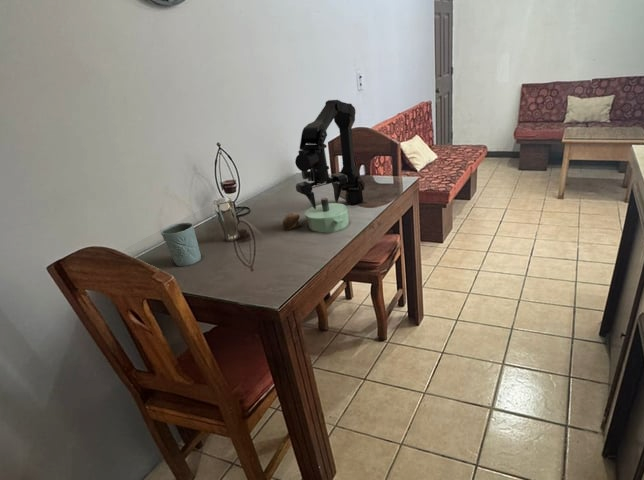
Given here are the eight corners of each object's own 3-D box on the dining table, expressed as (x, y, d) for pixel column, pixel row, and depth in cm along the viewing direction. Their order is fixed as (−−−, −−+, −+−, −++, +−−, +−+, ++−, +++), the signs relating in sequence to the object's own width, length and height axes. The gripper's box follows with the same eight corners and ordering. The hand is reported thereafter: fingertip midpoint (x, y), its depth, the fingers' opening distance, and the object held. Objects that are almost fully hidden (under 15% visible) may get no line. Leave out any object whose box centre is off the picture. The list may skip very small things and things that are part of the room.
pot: (334, 213, 173) (332, 201, 170) (359, 226, 158) (357, 213, 155) (300, 223, 166) (297, 211, 164) (323, 238, 151) (321, 224, 148)
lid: (335, 203, 169) (333, 189, 167) (355, 212, 157) (353, 198, 155) (298, 213, 162) (295, 199, 160) (316, 224, 150) (313, 209, 147)
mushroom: (308, 216, 162) (295, 206, 159) (300, 231, 158) (287, 221, 155) (296, 223, 168) (284, 213, 165) (289, 238, 163) (276, 228, 160)
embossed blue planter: (173, 269, 140) (159, 236, 134) (173, 258, 148) (161, 226, 142) (204, 261, 143) (193, 229, 137) (203, 251, 151) (192, 220, 145)
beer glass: (225, 243, 155) (213, 204, 148) (222, 237, 161) (210, 200, 153) (244, 238, 158) (233, 200, 150) (240, 233, 163) (229, 195, 156)
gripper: (331, 155, 160) (337, 194, 168) (285, 165, 152) (294, 207, 160) (345, 159, 152) (351, 201, 160) (298, 170, 144) (306, 214, 152)
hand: (325, 205), depth 158 cm, fingers open, 9 cm apart
